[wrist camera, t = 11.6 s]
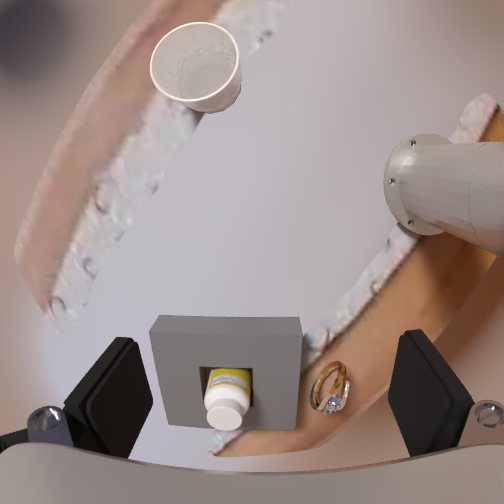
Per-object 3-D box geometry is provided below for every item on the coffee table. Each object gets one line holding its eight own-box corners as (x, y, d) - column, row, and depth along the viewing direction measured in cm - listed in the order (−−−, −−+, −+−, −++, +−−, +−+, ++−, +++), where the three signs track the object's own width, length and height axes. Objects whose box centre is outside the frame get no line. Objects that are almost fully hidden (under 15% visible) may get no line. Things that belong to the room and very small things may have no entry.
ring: (317, 390, 43) (324, 428, 35) (300, 381, 42) (305, 419, 35) (349, 357, 41) (363, 393, 33) (332, 347, 41) (344, 383, 33)
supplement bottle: (238, 391, 42) (232, 441, 33) (205, 374, 42) (191, 422, 32) (259, 366, 41) (257, 415, 32) (224, 347, 40) (213, 395, 31)
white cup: (198, 47, 32) (177, 12, 22) (258, 71, 32) (256, 39, 23) (167, 103, 34) (134, 84, 24) (226, 129, 34) (211, 116, 25)
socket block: (299, 316, 40) (302, 334, 35) (293, 409, 44) (294, 429, 40) (159, 314, 41) (148, 331, 36) (175, 405, 45) (168, 424, 40)
